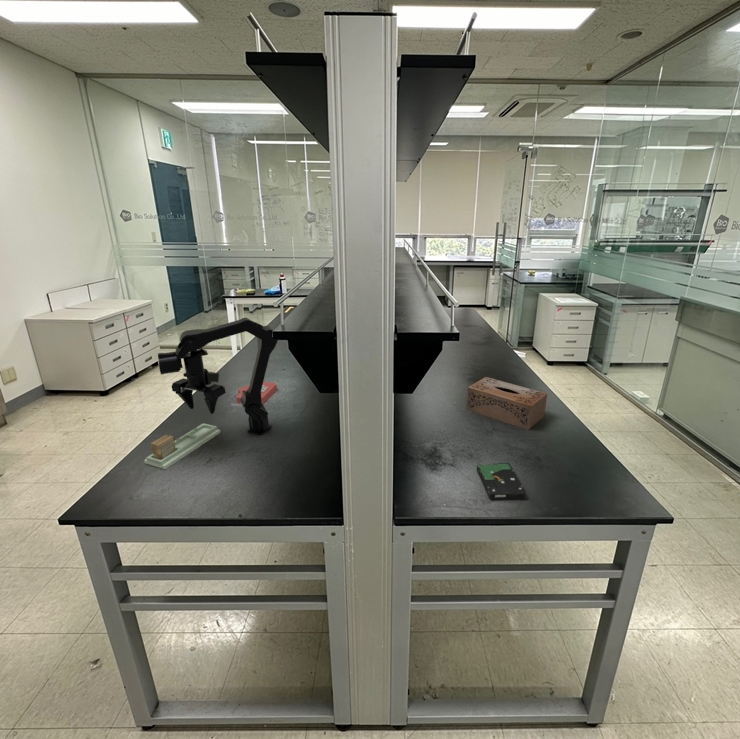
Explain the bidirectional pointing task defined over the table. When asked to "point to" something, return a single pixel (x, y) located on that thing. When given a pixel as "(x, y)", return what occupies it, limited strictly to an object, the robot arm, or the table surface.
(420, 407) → the table surface
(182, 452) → the rail board
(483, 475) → the disk drive
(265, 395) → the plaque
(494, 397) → the tissue box cover
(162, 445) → the tan rectangular box
